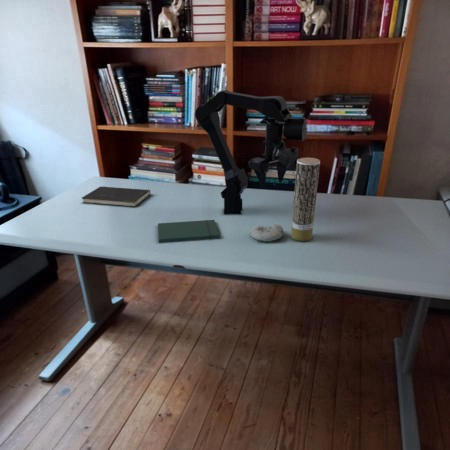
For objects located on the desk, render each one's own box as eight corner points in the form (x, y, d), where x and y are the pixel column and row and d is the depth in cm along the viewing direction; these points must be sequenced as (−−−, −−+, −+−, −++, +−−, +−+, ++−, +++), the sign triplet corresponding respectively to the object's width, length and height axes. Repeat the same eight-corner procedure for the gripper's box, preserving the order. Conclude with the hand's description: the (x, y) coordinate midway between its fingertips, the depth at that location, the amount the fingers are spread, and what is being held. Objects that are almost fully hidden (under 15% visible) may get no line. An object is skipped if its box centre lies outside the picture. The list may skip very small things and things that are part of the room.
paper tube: (315, 237, 138) (324, 159, 125) (305, 244, 134) (313, 164, 120) (297, 232, 142) (304, 156, 129) (287, 238, 137) (292, 161, 124)
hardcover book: (134, 207, 165) (134, 201, 163) (82, 203, 169) (81, 197, 168) (150, 194, 178) (150, 189, 176) (101, 191, 183) (100, 186, 181)
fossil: (274, 217, 142) (291, 231, 136) (273, 227, 145) (289, 241, 138) (246, 223, 138) (262, 237, 131) (245, 233, 140) (260, 247, 133)
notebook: (158, 242, 136) (158, 239, 135) (158, 226, 148) (157, 223, 147) (219, 238, 138) (219, 234, 138) (214, 222, 150) (214, 219, 149)
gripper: (274, 146, 129) (271, 196, 137) (310, 137, 140) (306, 184, 148) (248, 141, 136) (247, 188, 144) (284, 133, 147) (282, 177, 155)
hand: (271, 184), depth 148 cm, fingers open, 9 cm apart
